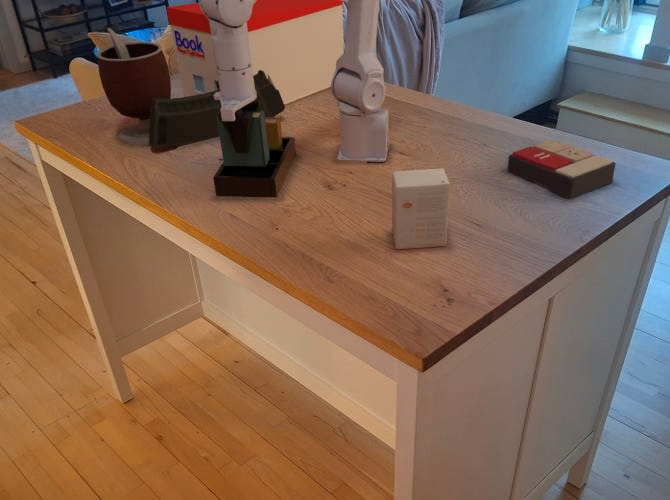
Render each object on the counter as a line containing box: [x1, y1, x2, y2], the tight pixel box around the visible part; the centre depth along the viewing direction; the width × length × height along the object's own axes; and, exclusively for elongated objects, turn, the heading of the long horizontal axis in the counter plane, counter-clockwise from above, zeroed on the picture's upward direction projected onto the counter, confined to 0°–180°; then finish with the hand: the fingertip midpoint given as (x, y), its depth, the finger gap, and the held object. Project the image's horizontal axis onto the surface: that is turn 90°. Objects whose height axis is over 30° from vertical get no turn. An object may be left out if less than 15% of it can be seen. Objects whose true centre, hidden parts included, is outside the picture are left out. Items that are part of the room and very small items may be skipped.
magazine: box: [149, 70, 286, 150], centre depth 137 cm, size 17×3×30 cm
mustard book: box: [265, 116, 283, 149], centre depth 126 cm, size 7×3×8 cm, turn 82°
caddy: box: [212, 136, 297, 198], centre depth 123 cm, size 11×19×4 cm, turn 172°
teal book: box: [217, 110, 270, 166], centre depth 113 cm, size 8×3×8 cm, turn 82°
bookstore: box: [166, 0, 345, 106], centre depth 155 cm, size 21×35×21 cm, turn 137°
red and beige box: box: [507, 139, 617, 200], centre depth 117 cm, size 11×4×15 cm
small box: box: [391, 167, 451, 250], centre depth 100 cm, size 8×6×10 cm
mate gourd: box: [96, 27, 172, 146], centre depth 137 cm, size 16×14×20 cm
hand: (245, 147), depth 114 cm, fingers closed on teal book, 3 cm apart
